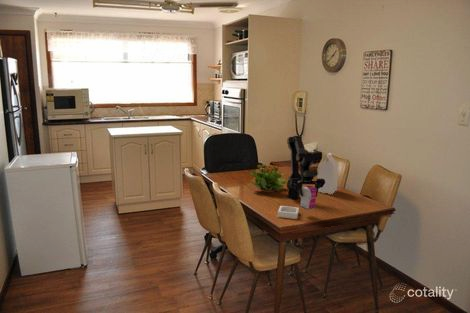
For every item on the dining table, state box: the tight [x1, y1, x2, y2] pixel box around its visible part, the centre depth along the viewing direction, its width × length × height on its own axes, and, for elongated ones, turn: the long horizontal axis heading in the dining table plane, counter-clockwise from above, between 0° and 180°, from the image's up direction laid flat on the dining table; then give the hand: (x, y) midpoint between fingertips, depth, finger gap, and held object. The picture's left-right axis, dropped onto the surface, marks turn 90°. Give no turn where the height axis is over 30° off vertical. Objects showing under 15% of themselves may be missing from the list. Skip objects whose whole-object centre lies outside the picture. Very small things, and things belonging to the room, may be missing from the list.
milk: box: [316, 152, 339, 195], centre depth 248 cm, size 12×12×26 cm
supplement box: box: [299, 185, 317, 210], centre depth 200 cm, size 6×6×12 cm
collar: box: [277, 205, 300, 220], centre depth 202 cm, size 10×10×3 cm
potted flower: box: [249, 163, 287, 193], centre depth 245 cm, size 25×24×18 cm
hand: (309, 196), depth 198 cm, fingers closed on supplement box, 7 cm apart
